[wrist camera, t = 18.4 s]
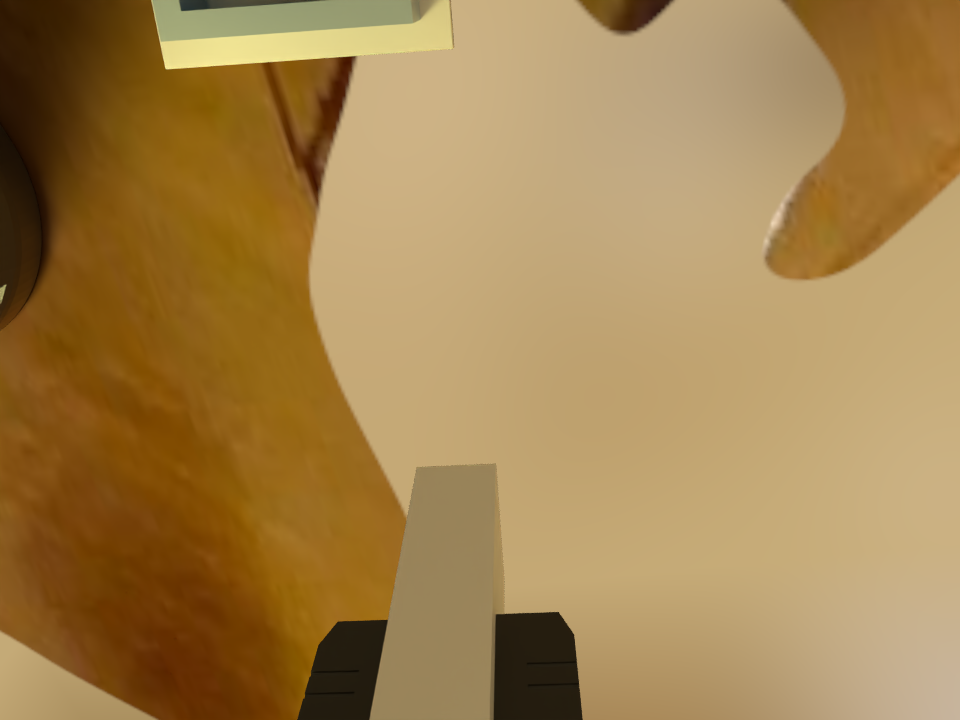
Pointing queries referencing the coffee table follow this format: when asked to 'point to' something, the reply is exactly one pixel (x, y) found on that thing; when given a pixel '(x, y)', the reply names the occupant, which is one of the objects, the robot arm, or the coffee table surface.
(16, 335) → the coffee table surface
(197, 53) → the dock station
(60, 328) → the coffee table surface
